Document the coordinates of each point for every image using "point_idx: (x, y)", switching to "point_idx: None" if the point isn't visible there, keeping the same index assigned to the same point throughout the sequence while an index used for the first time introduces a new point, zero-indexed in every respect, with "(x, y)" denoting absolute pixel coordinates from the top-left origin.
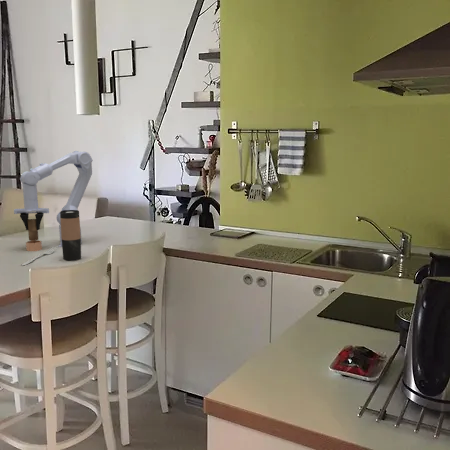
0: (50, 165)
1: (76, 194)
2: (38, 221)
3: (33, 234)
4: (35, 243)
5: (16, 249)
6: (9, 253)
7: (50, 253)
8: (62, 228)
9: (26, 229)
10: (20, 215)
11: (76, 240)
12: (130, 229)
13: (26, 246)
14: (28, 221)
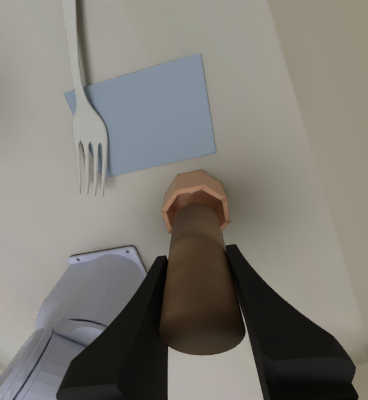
0: None
1: None
2: (129, 305)
3: (183, 224)
4: (173, 192)
5: (276, 207)
6: (282, 137)
7: (73, 129)
8: None
9: (233, 246)
10: (339, 358)
11: None
12: None
13: (221, 189)
14: (221, 298)
